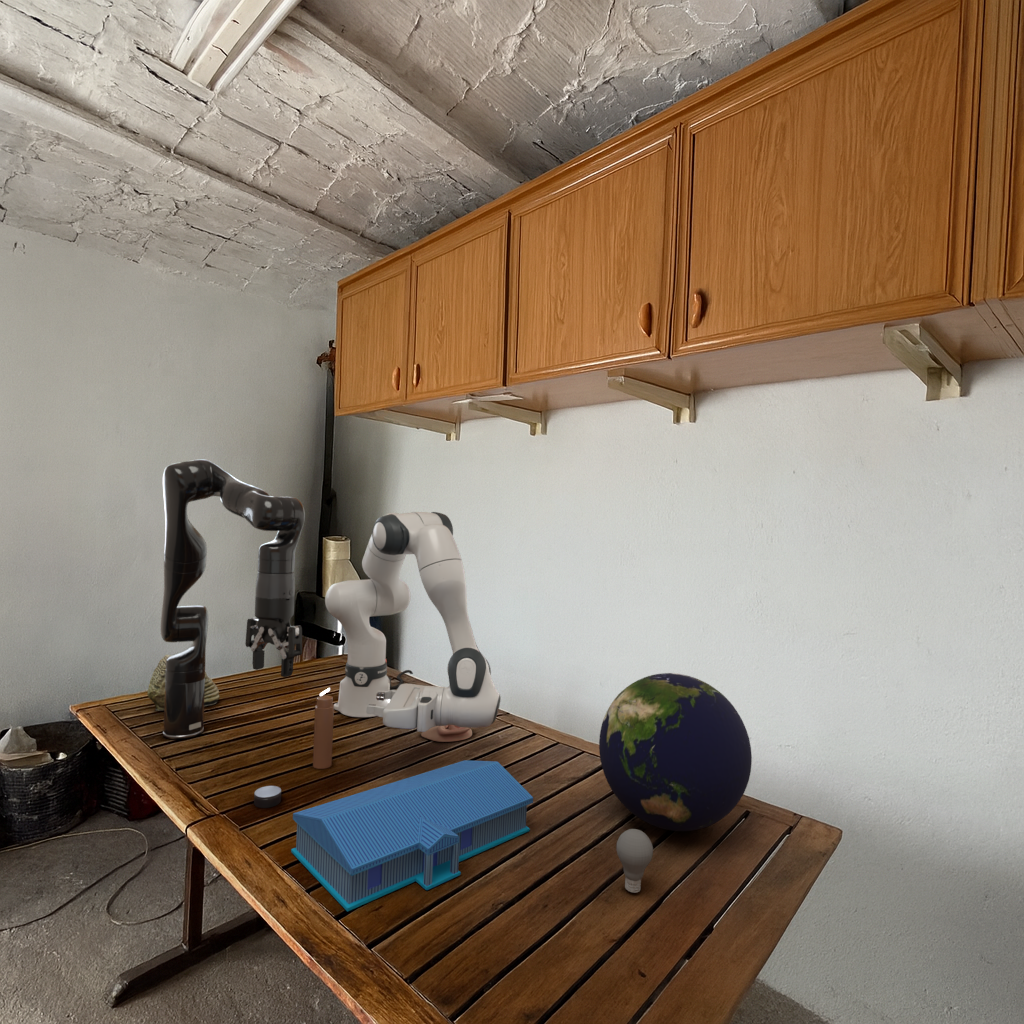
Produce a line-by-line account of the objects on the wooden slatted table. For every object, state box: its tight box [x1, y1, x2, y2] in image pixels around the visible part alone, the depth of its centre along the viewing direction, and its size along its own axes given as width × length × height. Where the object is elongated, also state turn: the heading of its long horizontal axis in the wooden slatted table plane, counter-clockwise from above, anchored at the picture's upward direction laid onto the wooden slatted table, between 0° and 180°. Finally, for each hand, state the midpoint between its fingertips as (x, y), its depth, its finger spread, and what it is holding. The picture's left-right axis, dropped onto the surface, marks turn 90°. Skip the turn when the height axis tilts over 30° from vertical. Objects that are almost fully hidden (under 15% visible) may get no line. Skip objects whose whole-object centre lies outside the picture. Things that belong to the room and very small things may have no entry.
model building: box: [290, 759, 534, 912], centre depth 117 cm, size 39×24×10 cm, turn 132°
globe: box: [598, 672, 753, 832], centre depth 129 cm, size 30×30×30 cm
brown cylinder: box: [312, 694, 335, 770], centre depth 149 cm, size 4×4×16 cm
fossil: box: [147, 654, 221, 712], centre depth 185 cm, size 9×18×15 cm, turn 132°
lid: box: [253, 785, 282, 809], centre depth 131 cm, size 5×5×2 cm
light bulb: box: [615, 828, 654, 894], centre depth 106 cm, size 6×6×10 cm
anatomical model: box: [420, 725, 473, 743], centre depth 171 cm, size 13×4×12 cm
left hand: (272, 672), depth 130 cm, fingers open, 8 cm apart
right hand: (372, 702), depth 149 cm, fingers open, 8 cm apart
